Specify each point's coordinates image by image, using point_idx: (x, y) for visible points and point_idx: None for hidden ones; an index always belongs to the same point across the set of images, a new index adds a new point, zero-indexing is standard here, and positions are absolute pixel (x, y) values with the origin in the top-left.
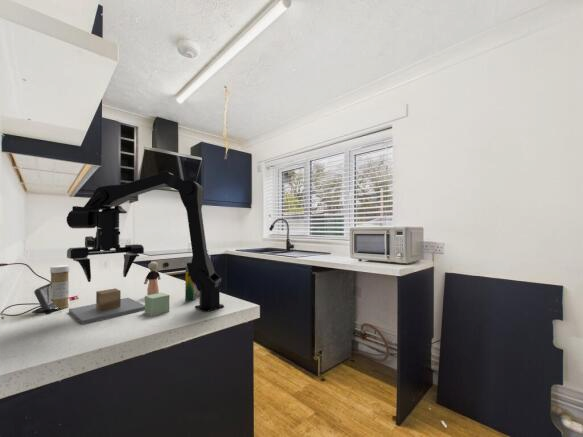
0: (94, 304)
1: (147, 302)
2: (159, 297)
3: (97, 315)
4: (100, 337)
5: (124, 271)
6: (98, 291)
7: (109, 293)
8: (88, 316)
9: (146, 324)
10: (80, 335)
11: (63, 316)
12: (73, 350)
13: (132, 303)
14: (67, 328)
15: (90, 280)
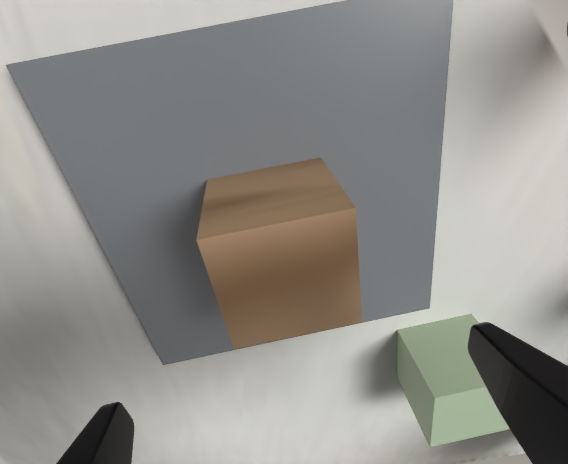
0: (188, 50)
1: (419, 392)
2: (461, 438)
3: (219, 330)
4: (231, 461)
5: (516, 408)
6: (214, 255)
7: (287, 331)
8: (181, 323)
9: (352, 432)
10: (178, 433)
11: (24, 160)
12: None
13: (403, 215)
14: (119, 364)
15: (132, 441)
